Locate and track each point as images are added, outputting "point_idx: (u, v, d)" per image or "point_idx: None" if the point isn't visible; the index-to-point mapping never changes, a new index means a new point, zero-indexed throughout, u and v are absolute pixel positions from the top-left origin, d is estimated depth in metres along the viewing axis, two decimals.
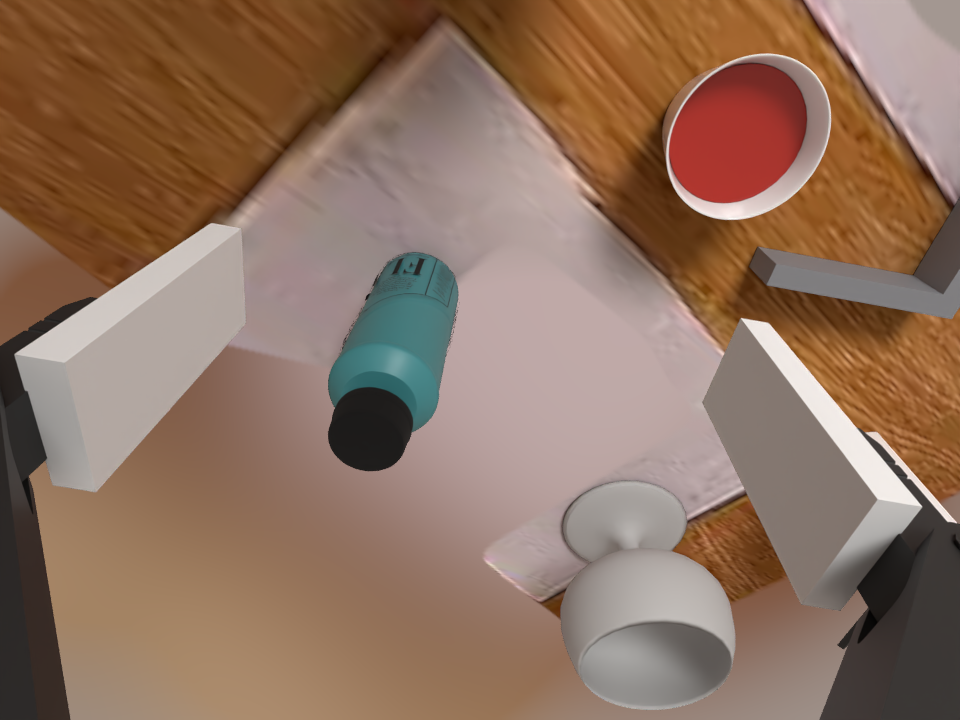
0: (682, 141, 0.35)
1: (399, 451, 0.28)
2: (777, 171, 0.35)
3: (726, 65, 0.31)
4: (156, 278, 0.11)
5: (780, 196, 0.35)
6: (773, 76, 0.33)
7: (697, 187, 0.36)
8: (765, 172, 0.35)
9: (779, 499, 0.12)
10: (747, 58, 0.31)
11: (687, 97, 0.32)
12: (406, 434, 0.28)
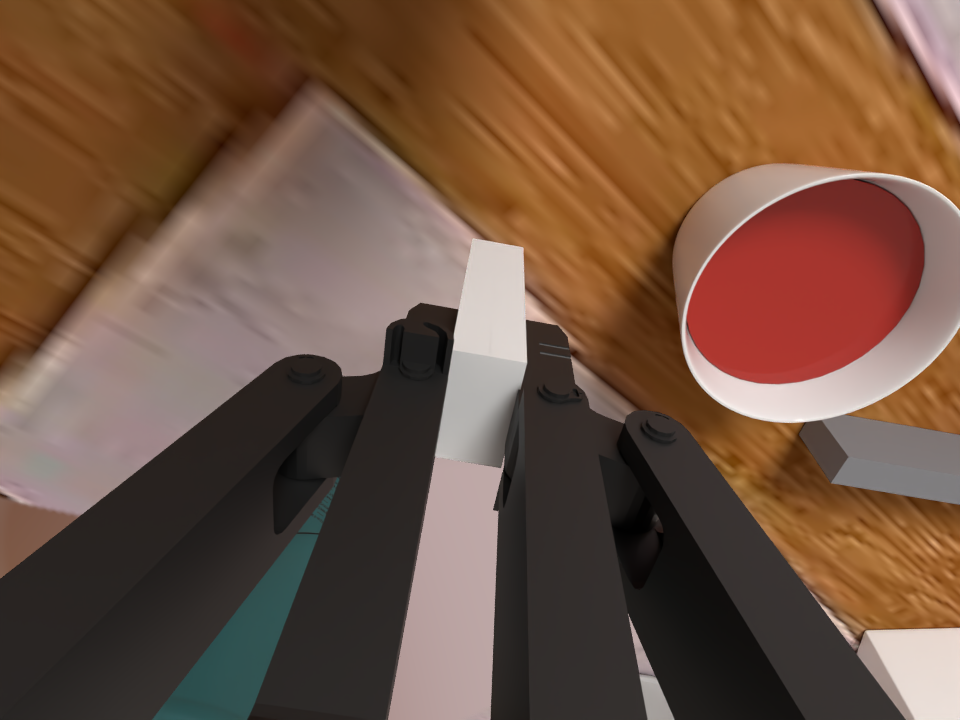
0: (708, 296, 0.21)
1: None
2: (865, 341, 0.21)
3: (795, 192, 0.17)
4: (481, 287, 0.14)
5: (872, 388, 0.21)
6: (871, 199, 0.18)
7: (730, 362, 0.22)
8: (844, 342, 0.21)
9: None
10: (834, 180, 0.17)
11: (721, 242, 0.18)
12: None
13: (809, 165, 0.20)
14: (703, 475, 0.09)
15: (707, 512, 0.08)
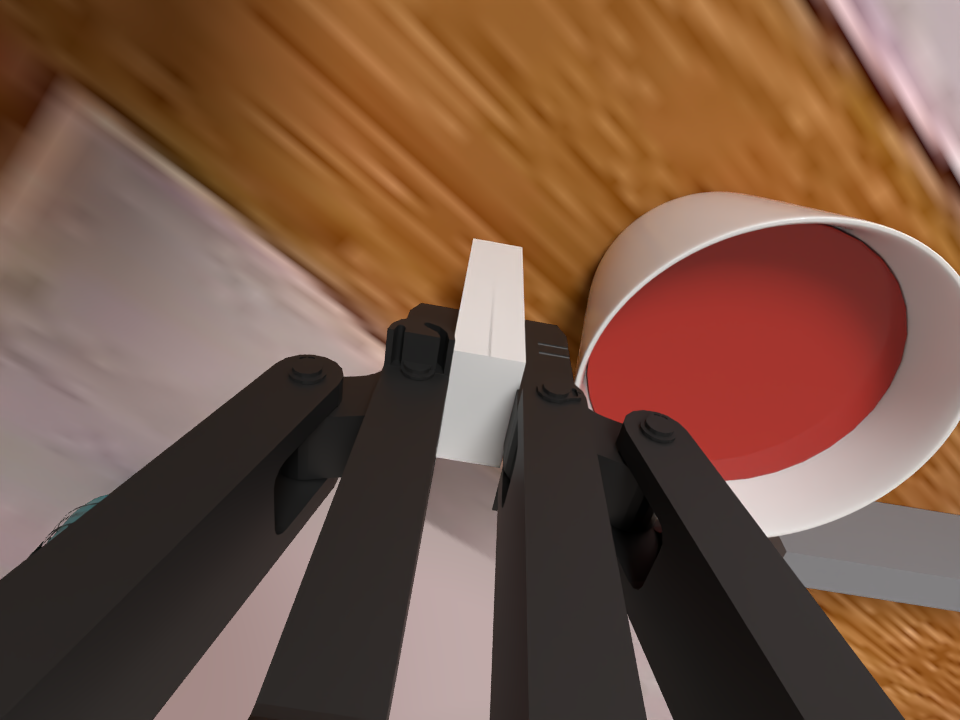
0: (616, 373, 0.15)
1: None
2: (832, 430, 0.16)
3: (710, 244, 0.12)
4: (482, 287, 0.14)
5: (841, 495, 0.15)
6: (829, 247, 0.13)
7: None
8: (804, 430, 0.16)
9: None
10: (766, 227, 0.11)
11: (612, 313, 0.12)
12: None
13: (748, 197, 0.15)
14: (702, 474, 0.09)
15: (705, 512, 0.08)
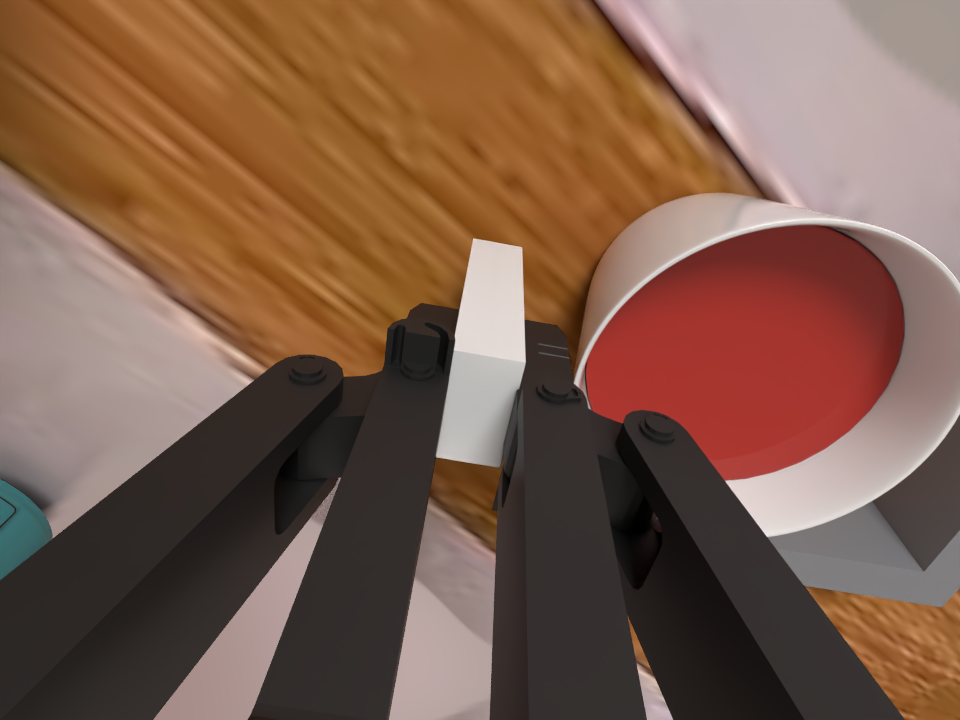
0: (615, 373, 0.15)
1: None
2: (829, 430, 0.16)
3: (708, 245, 0.12)
4: (482, 287, 0.14)
5: (838, 496, 0.15)
6: (827, 248, 0.13)
7: None
8: (801, 430, 0.16)
9: None
10: (765, 228, 0.11)
11: (611, 314, 0.12)
12: None
13: (747, 198, 0.15)
14: (703, 474, 0.09)
15: (706, 512, 0.08)
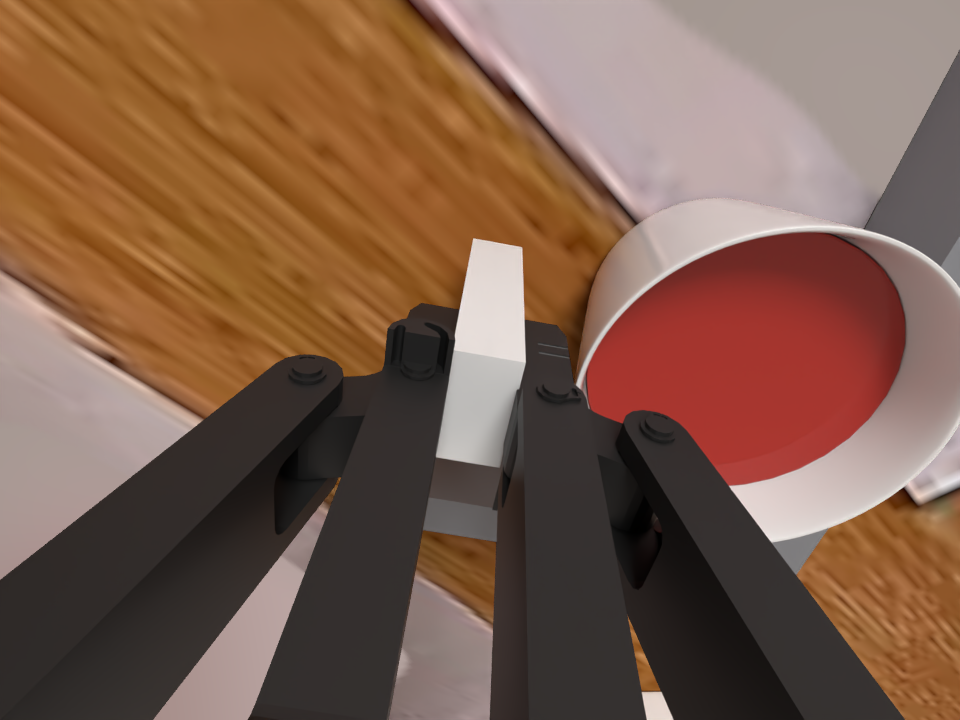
0: (616, 377, 0.15)
1: None
2: (829, 437, 0.16)
3: (713, 250, 0.12)
4: (482, 287, 0.14)
5: (837, 503, 0.15)
6: (831, 255, 0.13)
7: None
8: (801, 437, 0.16)
9: None
10: (770, 235, 0.11)
11: (614, 318, 0.12)
12: None
13: (750, 204, 0.15)
14: (702, 475, 0.09)
15: (705, 512, 0.08)
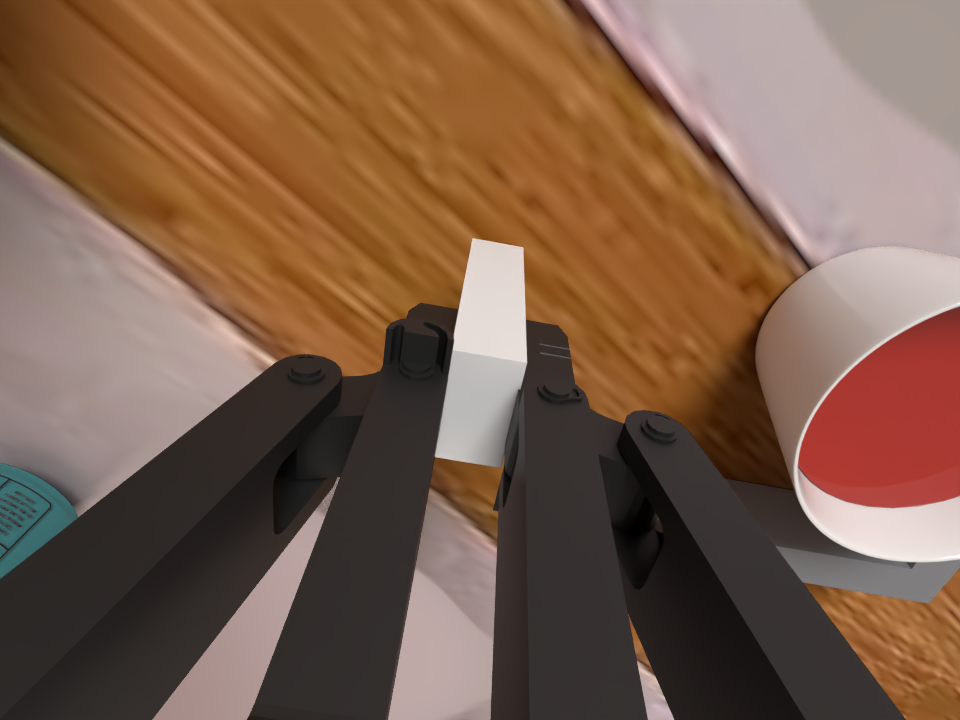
0: (818, 410, 0.17)
1: None
2: None
3: (958, 305, 0.13)
4: (481, 287, 0.14)
5: None
6: None
7: (837, 483, 0.18)
8: None
9: None
10: None
11: (856, 361, 0.14)
12: None
13: (942, 256, 0.17)
14: (703, 475, 0.09)
15: (707, 512, 0.08)
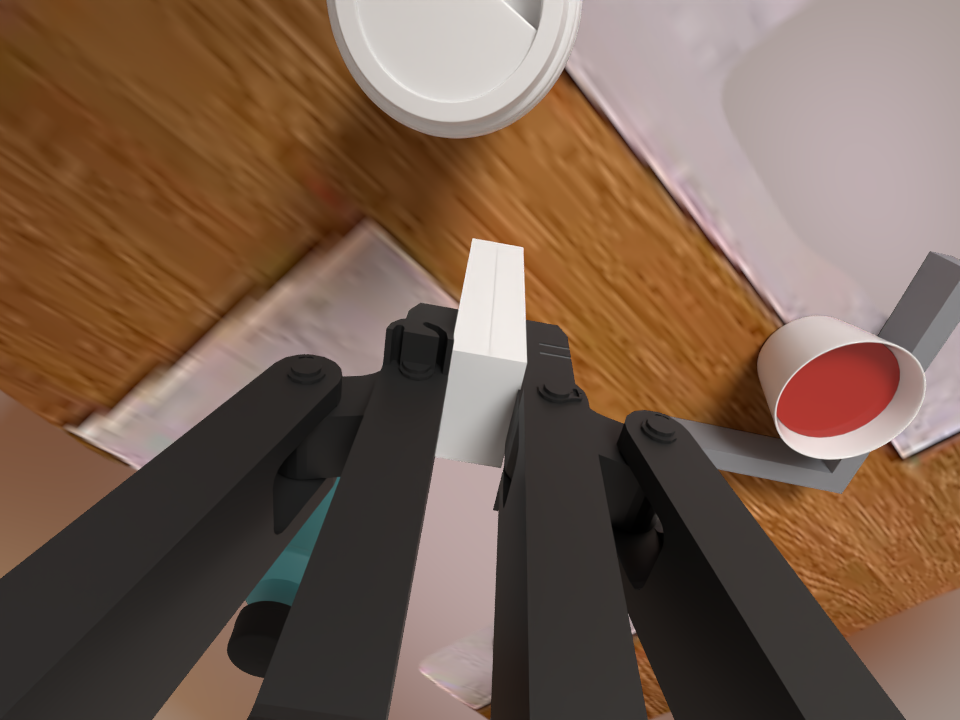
0: (786, 389, 0.38)
1: None
2: (868, 416, 0.39)
3: (838, 347, 0.35)
4: (481, 287, 0.14)
5: (872, 442, 0.38)
6: (873, 346, 0.36)
7: (794, 424, 0.39)
8: (857, 416, 0.39)
9: None
10: (857, 342, 0.34)
11: (800, 367, 0.35)
12: None
13: (840, 323, 0.38)
14: (703, 475, 0.09)
15: (707, 512, 0.08)
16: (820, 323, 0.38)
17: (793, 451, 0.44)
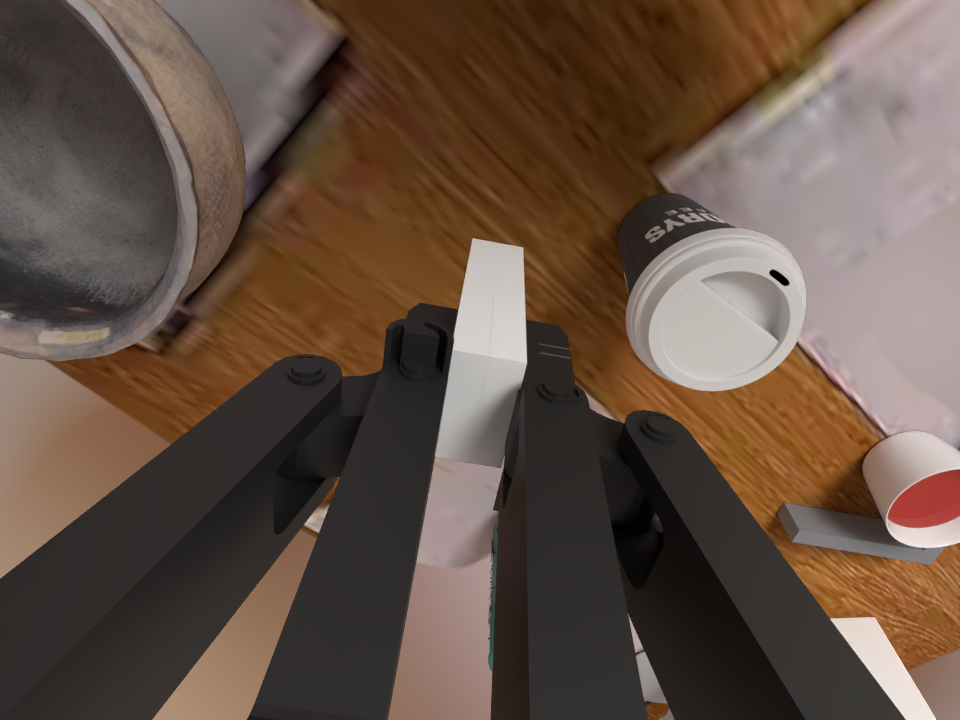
0: None
1: None
2: (957, 513, 0.49)
3: (940, 472, 0.45)
4: (481, 287, 0.14)
5: None
6: None
7: (897, 519, 0.50)
8: (948, 513, 0.49)
9: None
10: (955, 469, 0.45)
11: (909, 486, 0.46)
12: None
13: (936, 443, 0.48)
14: (703, 475, 0.09)
15: (707, 512, 0.08)
16: (919, 442, 0.49)
17: None
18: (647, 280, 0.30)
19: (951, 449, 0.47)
